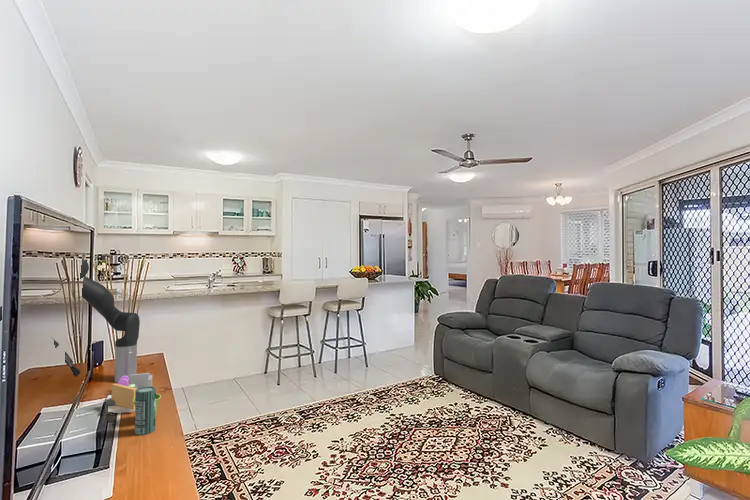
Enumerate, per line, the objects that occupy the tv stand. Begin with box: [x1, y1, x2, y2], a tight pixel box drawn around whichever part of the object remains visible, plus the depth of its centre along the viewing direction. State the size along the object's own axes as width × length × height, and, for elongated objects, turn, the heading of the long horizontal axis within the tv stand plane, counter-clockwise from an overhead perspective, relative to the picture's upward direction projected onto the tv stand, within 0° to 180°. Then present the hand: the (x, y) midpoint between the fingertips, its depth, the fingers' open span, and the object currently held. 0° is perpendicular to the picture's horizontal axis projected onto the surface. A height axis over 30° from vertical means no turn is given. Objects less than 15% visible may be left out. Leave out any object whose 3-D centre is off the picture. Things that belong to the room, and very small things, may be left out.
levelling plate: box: [106, 372, 153, 414], centre depth 170 cm, size 21×18×10 cm
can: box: [134, 385, 157, 436], centre depth 144 cm, size 6×6×15 cm
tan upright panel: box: [105, 382, 136, 410], centre depth 162 cm, size 16×5×8 cm, turn 65°
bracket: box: [117, 376, 130, 386], centre depth 184 cm, size 13×6×7 cm, turn 116°
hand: (78, 374), depth 152 cm, fingers closed
